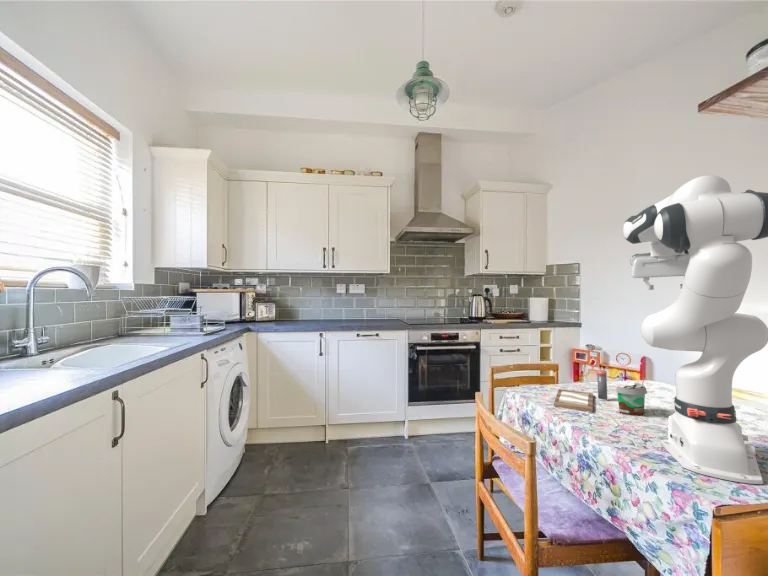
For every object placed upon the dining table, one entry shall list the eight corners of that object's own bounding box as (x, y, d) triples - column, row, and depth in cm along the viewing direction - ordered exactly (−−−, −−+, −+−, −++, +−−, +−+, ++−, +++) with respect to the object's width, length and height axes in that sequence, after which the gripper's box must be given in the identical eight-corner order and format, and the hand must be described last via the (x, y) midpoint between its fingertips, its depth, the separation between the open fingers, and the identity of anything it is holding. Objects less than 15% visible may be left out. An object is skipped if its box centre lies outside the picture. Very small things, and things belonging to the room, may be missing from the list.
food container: (635, 419, 112) (634, 391, 113) (617, 413, 118) (615, 386, 118) (655, 413, 117) (654, 386, 118) (636, 408, 123) (635, 382, 123)
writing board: (592, 412, 120) (592, 408, 120) (553, 406, 127) (553, 403, 127) (592, 395, 138) (592, 392, 138) (558, 391, 146) (558, 388, 146)
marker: (608, 401, 131) (606, 372, 131) (598, 400, 133) (596, 371, 133) (607, 399, 134) (606, 370, 134) (597, 398, 136) (596, 369, 136)
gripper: (631, 253, 119) (633, 290, 119) (705, 248, 110) (707, 288, 110) (628, 255, 125) (629, 290, 125) (698, 250, 115) (700, 288, 115)
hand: (667, 289), depth 117 cm, fingers open, 8 cm apart
